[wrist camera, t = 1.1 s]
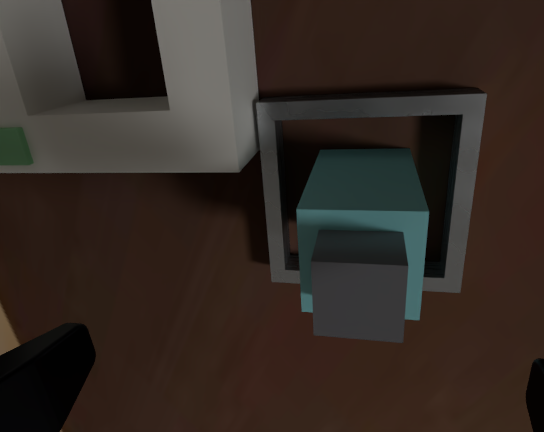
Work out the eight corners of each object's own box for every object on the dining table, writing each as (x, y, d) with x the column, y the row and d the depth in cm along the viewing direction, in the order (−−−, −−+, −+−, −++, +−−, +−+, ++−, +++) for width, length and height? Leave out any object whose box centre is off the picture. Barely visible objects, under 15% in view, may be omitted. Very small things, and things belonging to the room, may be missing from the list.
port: (236, -162, 15) (191, -224, 11) (262, 145, 20) (237, 174, 16) (-19, -112, 18) (-126, -149, 14) (57, 149, 22) (-7, 175, 19)
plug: (409, 148, 18) (438, 243, 10) (404, 228, 20) (426, 363, 12) (320, 149, 19) (284, 238, 11) (322, 226, 21) (292, 350, 13)
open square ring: (477, 87, 17) (486, 93, 15) (454, 275, 20) (460, 292, 19) (264, 97, 19) (255, 103, 18) (277, 266, 23) (271, 281, 21)
